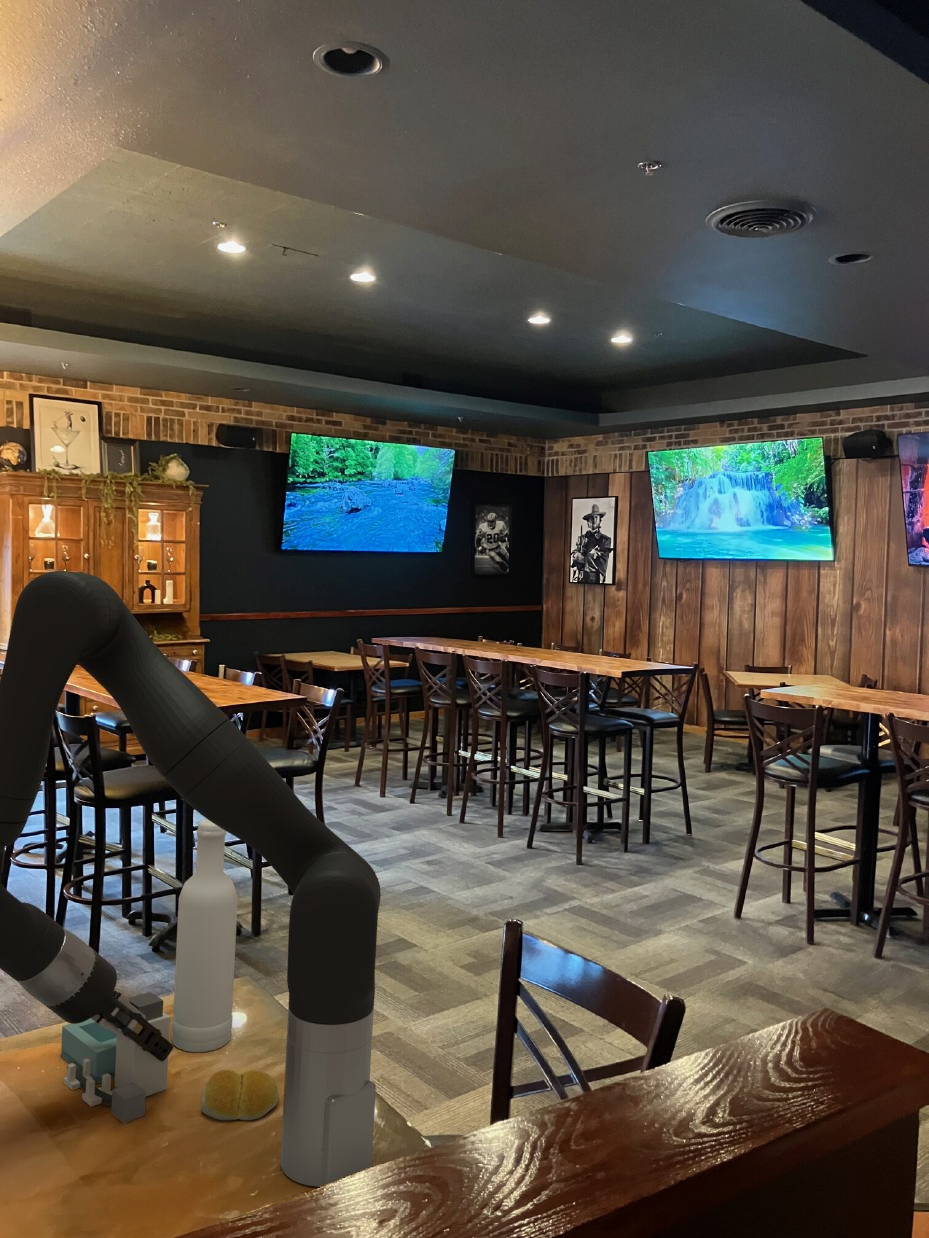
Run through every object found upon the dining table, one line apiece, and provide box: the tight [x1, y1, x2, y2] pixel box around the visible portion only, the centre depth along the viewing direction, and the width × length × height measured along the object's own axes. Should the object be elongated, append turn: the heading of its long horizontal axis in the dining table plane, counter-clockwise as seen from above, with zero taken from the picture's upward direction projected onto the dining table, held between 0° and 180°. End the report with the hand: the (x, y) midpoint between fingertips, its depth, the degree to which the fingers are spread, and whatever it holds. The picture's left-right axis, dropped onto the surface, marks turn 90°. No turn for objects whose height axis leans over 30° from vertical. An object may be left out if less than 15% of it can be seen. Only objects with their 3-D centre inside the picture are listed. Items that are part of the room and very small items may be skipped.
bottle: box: [171, 818, 239, 1053], centre depth 133 cm, size 8×8×30 cm
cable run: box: [62, 1058, 147, 1124], centre depth 118 cm, size 14×4×3 cm, turn 47°
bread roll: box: [200, 1069, 279, 1121], centre depth 118 cm, size 8×9×4 cm
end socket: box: [60, 1018, 117, 1086], centre depth 127 cm, size 10×10×4 cm
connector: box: [114, 991, 171, 1097], centre depth 120 cm, size 4×4×11 cm
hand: (156, 1045), depth 122 cm, fingers closed on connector, 4 cm apart
